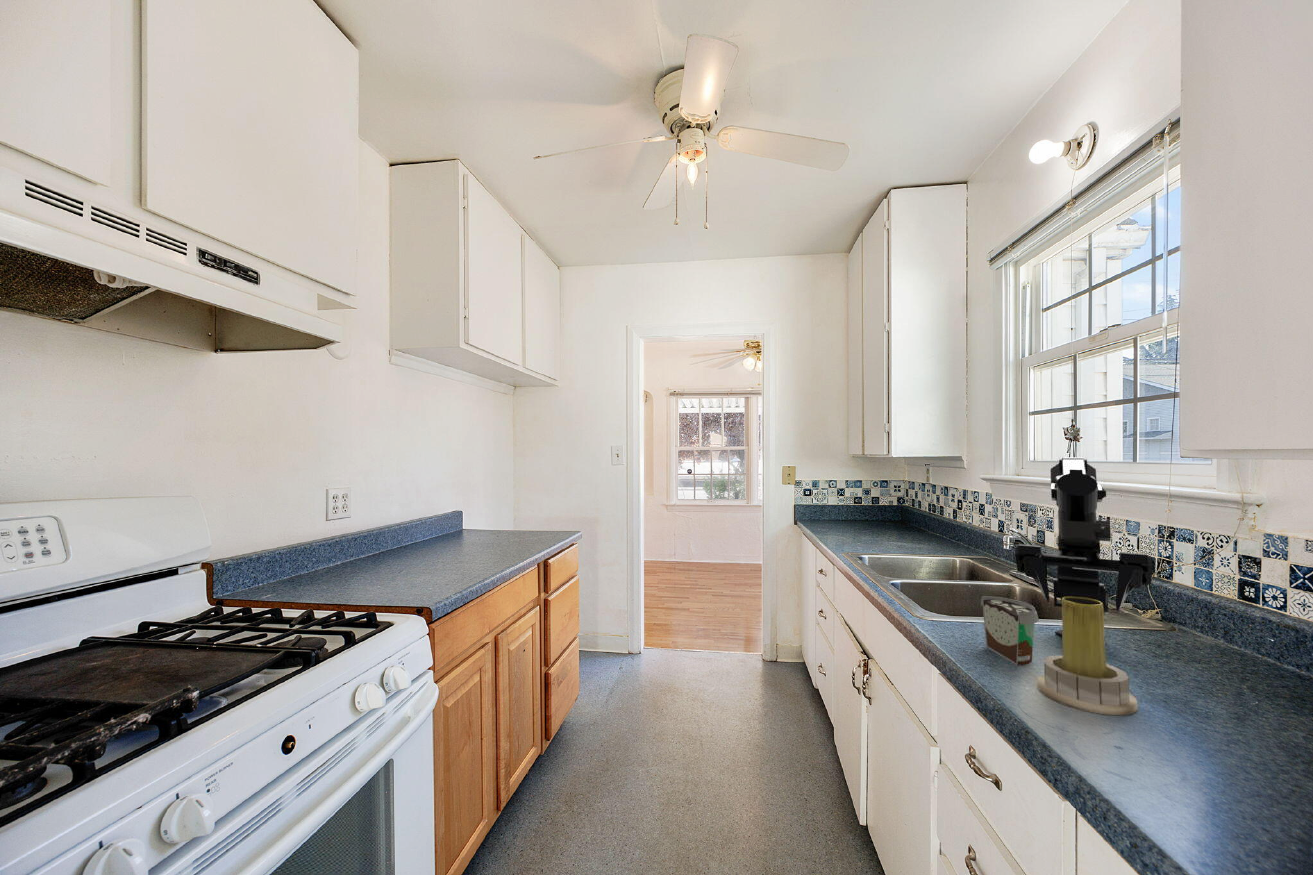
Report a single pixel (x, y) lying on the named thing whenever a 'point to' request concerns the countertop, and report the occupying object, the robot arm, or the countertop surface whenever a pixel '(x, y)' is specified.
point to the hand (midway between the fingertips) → (1081, 605)
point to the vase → (1083, 637)
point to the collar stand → (1087, 689)
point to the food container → (1009, 628)
